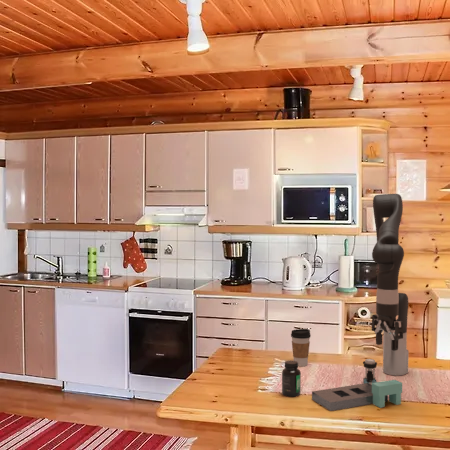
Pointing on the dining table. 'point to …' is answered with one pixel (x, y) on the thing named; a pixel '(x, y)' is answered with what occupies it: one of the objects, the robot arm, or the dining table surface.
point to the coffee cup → (300, 346)
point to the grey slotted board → (345, 397)
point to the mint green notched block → (386, 392)
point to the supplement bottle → (291, 379)
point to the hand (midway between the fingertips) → (386, 347)
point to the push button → (369, 371)
